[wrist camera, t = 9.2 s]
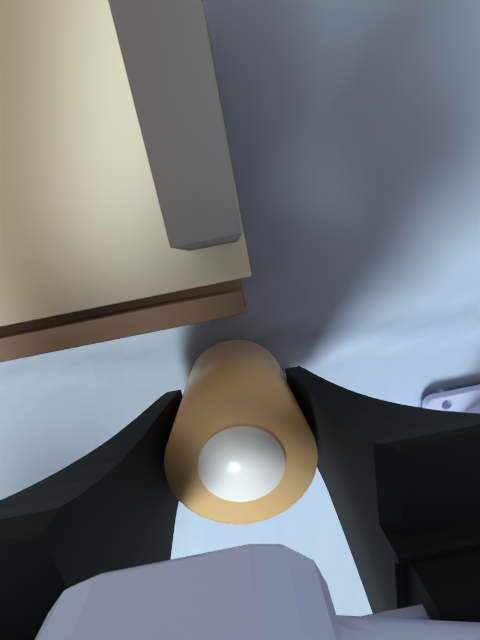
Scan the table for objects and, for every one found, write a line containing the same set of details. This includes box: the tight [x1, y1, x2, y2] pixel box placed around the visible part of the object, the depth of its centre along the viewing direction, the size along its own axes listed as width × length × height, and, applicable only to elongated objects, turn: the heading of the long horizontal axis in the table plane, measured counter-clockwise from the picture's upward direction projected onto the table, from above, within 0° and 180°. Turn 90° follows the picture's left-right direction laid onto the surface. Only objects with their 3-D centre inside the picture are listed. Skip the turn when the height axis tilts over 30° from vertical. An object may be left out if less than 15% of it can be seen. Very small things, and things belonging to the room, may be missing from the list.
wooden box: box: [0, 279, 247, 362], centre depth 8 cm, size 10×10×5 cm
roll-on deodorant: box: [164, 339, 318, 524], centre depth 10 cm, size 5×5×5 cm
